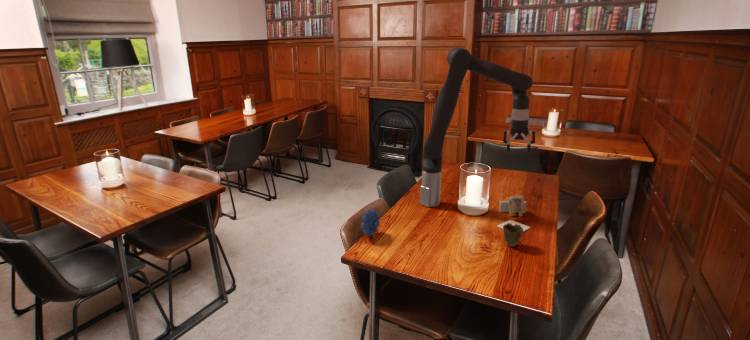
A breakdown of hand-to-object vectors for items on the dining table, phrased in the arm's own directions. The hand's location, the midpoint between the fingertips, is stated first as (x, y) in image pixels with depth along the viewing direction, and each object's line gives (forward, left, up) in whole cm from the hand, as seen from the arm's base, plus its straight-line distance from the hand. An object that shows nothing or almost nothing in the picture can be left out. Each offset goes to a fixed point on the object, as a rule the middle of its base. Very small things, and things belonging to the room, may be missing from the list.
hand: (518, 151), depth 191 cm
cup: (-39, -24, -27) cm, 53 cm away
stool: (-13, -10, -26) cm, 31 cm away
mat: (-24, -16, -27) cm, 39 cm away
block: (-9, -6, -27) cm, 29 cm away
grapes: (-76, +17, -27) cm, 83 cm away
